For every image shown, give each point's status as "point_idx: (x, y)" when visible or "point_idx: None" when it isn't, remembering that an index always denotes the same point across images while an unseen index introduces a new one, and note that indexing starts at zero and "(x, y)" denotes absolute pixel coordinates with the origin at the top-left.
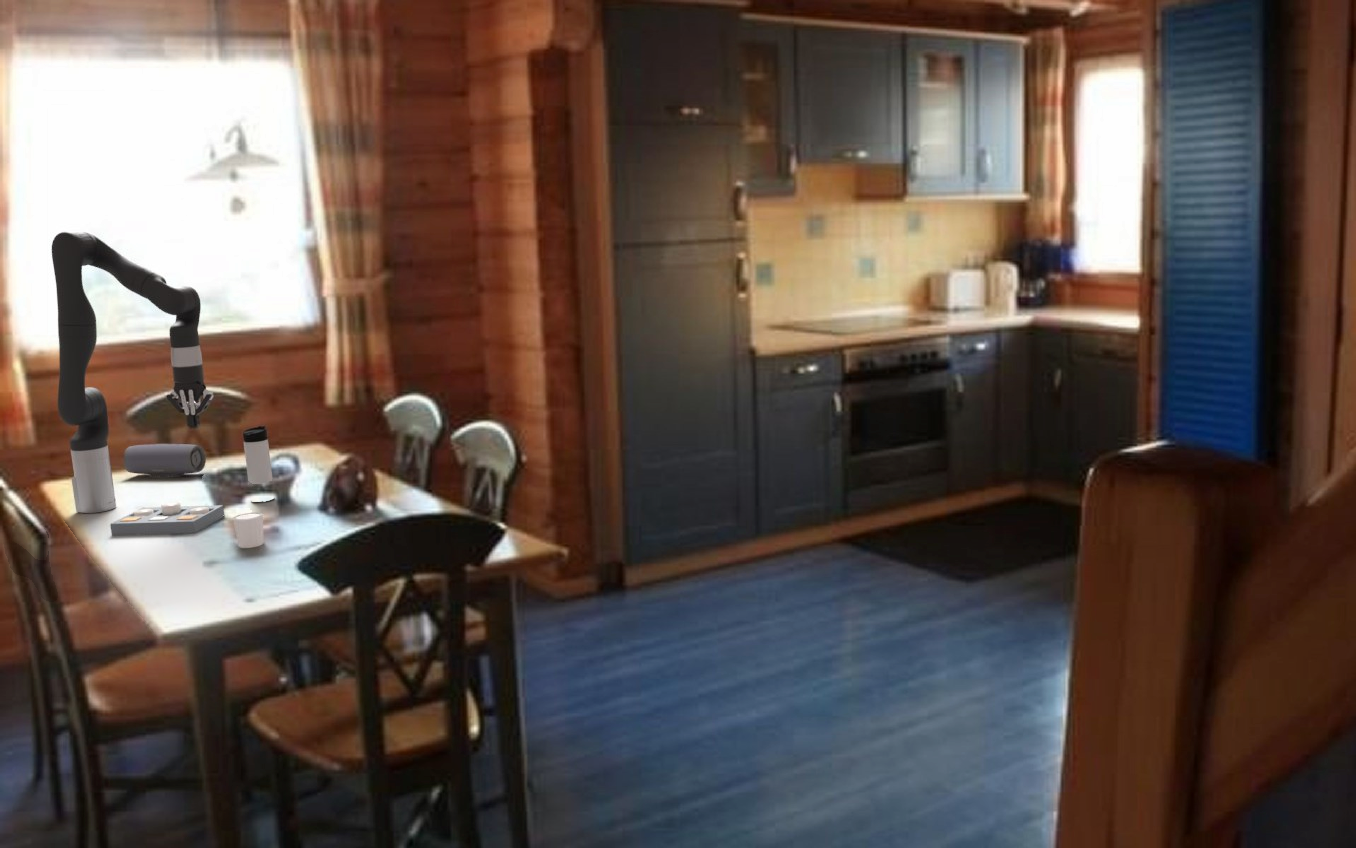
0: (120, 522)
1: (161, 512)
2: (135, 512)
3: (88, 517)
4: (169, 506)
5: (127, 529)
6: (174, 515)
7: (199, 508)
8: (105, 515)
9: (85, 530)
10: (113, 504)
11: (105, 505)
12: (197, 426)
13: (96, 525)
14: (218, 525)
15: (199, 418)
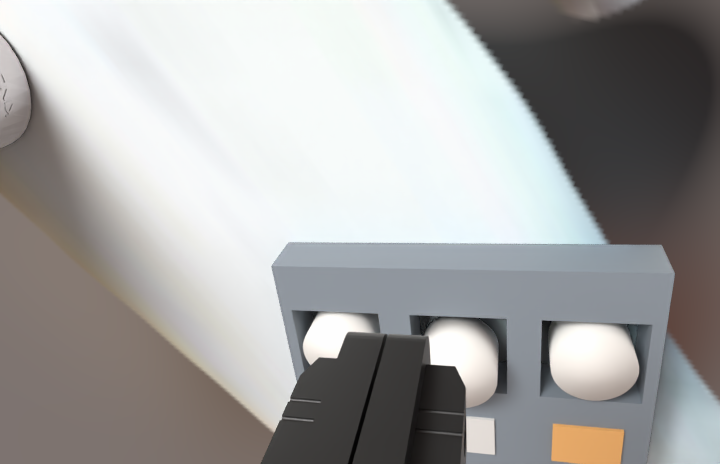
0: None
1: None
2: None
3: (46, 197)
4: (469, 403)
5: None
6: (503, 401)
7: (587, 354)
8: (84, 174)
9: (186, 355)
10: (12, 77)
11: (13, 121)
12: (427, 366)
13: (172, 304)
14: (692, 374)
15: (459, 458)
